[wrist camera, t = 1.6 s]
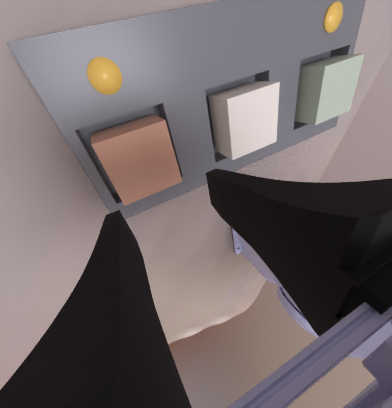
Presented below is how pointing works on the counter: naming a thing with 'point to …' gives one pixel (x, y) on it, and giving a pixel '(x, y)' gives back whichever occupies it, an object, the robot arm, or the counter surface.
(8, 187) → the counter surface
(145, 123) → the terracotta key
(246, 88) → the cream key
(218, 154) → the keypad
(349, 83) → the sage key
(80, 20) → the counter surface
